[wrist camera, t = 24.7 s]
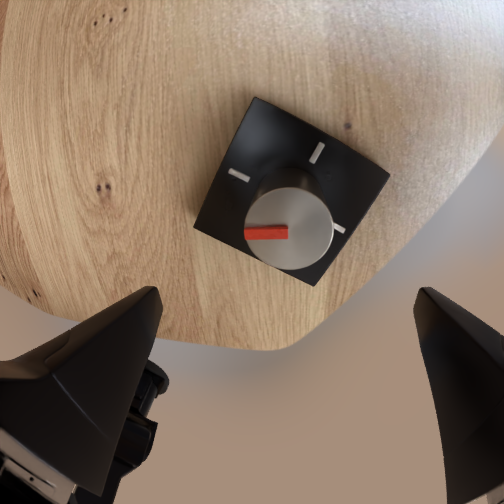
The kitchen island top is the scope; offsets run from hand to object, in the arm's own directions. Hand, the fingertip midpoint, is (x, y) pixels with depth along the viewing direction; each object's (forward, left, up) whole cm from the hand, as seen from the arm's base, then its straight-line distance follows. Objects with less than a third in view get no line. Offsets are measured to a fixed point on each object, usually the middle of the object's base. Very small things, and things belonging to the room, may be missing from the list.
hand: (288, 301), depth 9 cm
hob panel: (0, 0, -12) cm, 12 cm away
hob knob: (0, 0, -10) cm, 10 cm away
